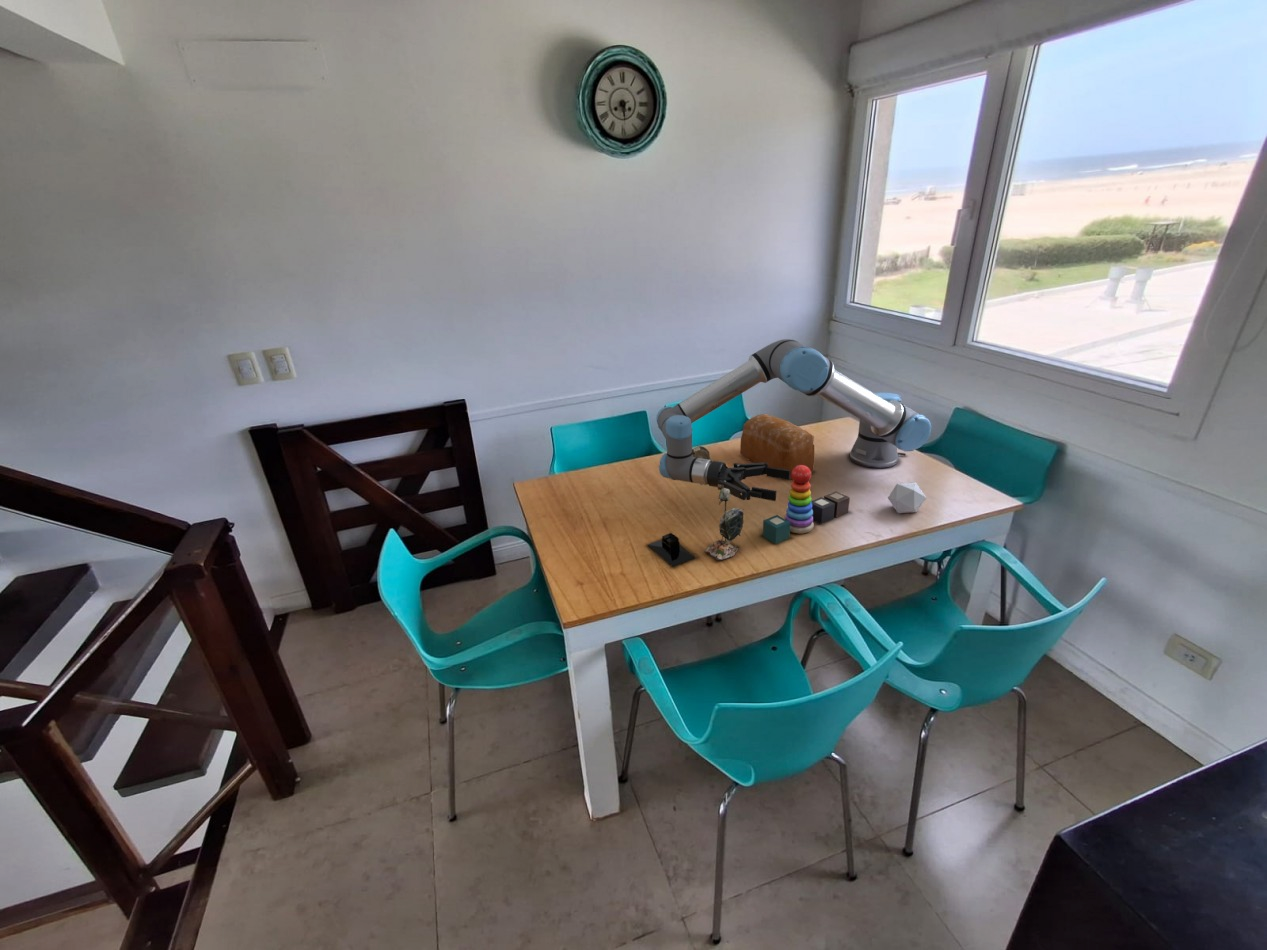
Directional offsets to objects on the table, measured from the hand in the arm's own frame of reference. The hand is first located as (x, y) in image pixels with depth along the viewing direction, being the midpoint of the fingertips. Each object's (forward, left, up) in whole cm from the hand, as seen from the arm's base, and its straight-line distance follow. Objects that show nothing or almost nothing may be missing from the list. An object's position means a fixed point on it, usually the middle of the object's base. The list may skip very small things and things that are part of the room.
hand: (783, 485), depth 152 cm
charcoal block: (-11, +4, -12) cm, 17 cm away
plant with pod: (+21, +1, -12) cm, 24 cm away
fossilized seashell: (-7, -49, -12) cm, 51 cm away
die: (-33, +15, -12) cm, 38 cm away
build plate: (+33, -7, -12) cm, 36 cm away
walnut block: (-17, +4, -12) cm, 21 cm away
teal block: (+6, +4, -12) cm, 14 cm away
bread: (-27, -31, -12) cm, 43 cm away
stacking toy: (-2, +4, -12) cm, 13 cm away
